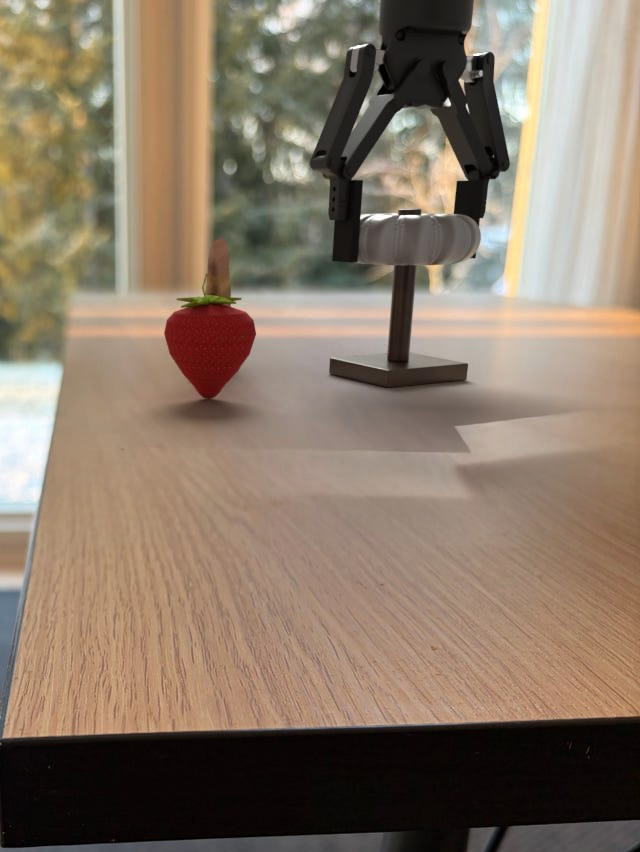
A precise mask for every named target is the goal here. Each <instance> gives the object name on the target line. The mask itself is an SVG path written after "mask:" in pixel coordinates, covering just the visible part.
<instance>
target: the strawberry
mask: <svg viewBox="0 0 640 852" xmlns="http://www.w3.org/2000/svg"><path fill="white" fill-rule="evenodd" d="M207 274H208V273H207V272H206V273H205V275H204V278H203V284H202V286H201V287H202V293H203V296H202V297H201V296H191V297H190V296H189V297H177V298H176V301H179V302H186V303H185V304H182V305H180V308H181V309H178V310H174V311H173V313H172V314H170V315H169V317H168V318H167V319H166V322H165V328H164V332H163V335H164V338H165V342H166V346H167V349H168V353H169V355H170V358H172V360H173V361H174V363H175V364H176V366H177V367H178V369H179V371H180V372H181V373H182V375H183V376H184V377H185V379H187V381H189V383H190V384H191V385H192V386H193V388H194V389H195V390H196V392H197V393H198V394H199V395H200V396H201V397H202V398H204V399H208V400H209V399H214V398H216V397H217V396H218V395H219V394H220V393H221V391H222V390H223V388H224V387H225V386H226V385H227V384H228V383H229V382H230V381H231V379H232V378H233V377H234V376H236V374H237V372H238V371H239V370H240V368H241V367H242V366H243V364H244V363H245V362H246V360H247V359H248V357H249V356H250V354H251V351H252V348H253V345H254V342H255V338H256V336H257V332H256V331H257V330H256V325H255V320H254V319H253V318H252V317H251V316H250V315H249V313H248V312H247V311H245V310H241V309H239V308H236V307H234V306H231V307H230V306H228V305H224V304H231V305H236V304H237V302H238V301H242V300H243V299H242V297H233V296H231V297H219V296H212V295H206V296H205V288H204V287H205V284H206V282H207ZM236 301H237V302H236Z"/></svg>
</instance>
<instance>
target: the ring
mask: <svg viewBox="0 0 640 852" xmlns="http://www.w3.org/2000/svg"><path fill="white" fill-rule="evenodd" d="M481 240H482V234H481V228H480V225H479V226H478V225H477V223H476V222H475V221H474V220H473V219H472V218H470V217H468V216H466V215H460V214H454V213H421V215H398V213H361V217H360V232H359V247H358V262H354V263H355V264H363V265H373V266H375V265H379V266H394V265H417V266H443V265H444V266H447V265H448V266H449V265H455V264H460V263H463V262H466V261H468V260H470V259H472V258H471V257H472V256H473V255H474V254H475V253H476V254H477V251H478V250H479V247H480V245H481ZM354 263H353V264H354Z"/></svg>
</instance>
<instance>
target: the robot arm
mask: <svg viewBox="0 0 640 852" xmlns="http://www.w3.org/2000/svg"><path fill="white" fill-rule="evenodd" d="M379 1H380V2H379V15H378V33H379V35H380V36H381V42H380V46H379V48H376V46H375V45H374V44H373V43H365V44H361V45H356V46H351V47H349V48H348V49H347V51H346V55H345V64H344V72H343V78H342V80H341V82H340V85H339V88H338V90H337V93H336V96H335V98H334V100H333V103H332V105H331V108H330V110H329V113H328V115H327V118H326V120H325V123H324V126H323V128H322V130H321V133H320V136H319V138H318V140H317V142H316V145H315V148H314V150H313V153H312V155H311V158H310V159H309V160H310V161H309V167H310V169H311V170H312V171H314V172H320V173H321V174H322V178H323V179H325V180H329V194H328V212H327V213H328V219H329V221H334V224H333V240H332V255H331V256H332V258H331V259H332V260H331V261H332V262H339V263H353V264H354V262H358V247H359V232H360V217H361V214H362V201H363V185H364V180H363V179H353V178H354V177H355V175H356V174H357V172H358V171H359V170H360V168H361V166H362V165H363V164H364V162H365V161H366V159H367V158H368V156H369V154H370V153H371V151H372V150H373V149H374V147H375V145H376V144H377V142H378V141H379V139H380V137H381V136H382V135H383V133H384V132H385V130H386V129H387V128H388V126H389V124H390V122H391V121H392V120H393V118H394V117H395V115H396V114H398V112H400V111H402V109H411V108H414V109H417V110H430V112H431V114H433V115H434V116H435V117H437V119H438V121H439V123H440V125H441V128H442V131H443V132H444V134H445V136H446V139H447V141H448V142H449V145H450V147H451V148H452V152H453V153H454V155H455V158H456V160H457V162H458V164H459V166H460V168H461V170H462V173H463V175H464V177H465V178H466V180H456V184H455V185H456V186H455V195H454V206H453V214H460V215H466V216H468V217H470V218H472V219H473V220H474V221H475V222H476V223H477V225H478V226H479V227H480V221H481V219H484V217H485V214H486V208H487V201H488V200H487V199H488V193H489V192H488V191H489V183H490V180H492V181H493V180H496V179H498V177H499V176H500V173H505V172H507V171H508V170H509V168H510V166H511V165H510V164H511V162H510V161H511V160H510V156H509V150H508V147H507V142H506V135H505V131H504V127H503V126H504V125H503V122H502V121H503V120H502V116H501V111H500V106H499V101H498V96H497V92H496V87H495V86H496V85H495V82H494V80H495V62H496V61H495V60H496V59H495V58H496V57H495V54H494V53H493V52H492V51H485V52H480V53H473V54H467V53H466V49H465V41H466V37H467V35H468V34H469V32H470V31H471V29H472V24H473V16H474V15H473V13H474V5H475V0H379ZM377 72H378V75H379V77H380V79H381V82H380V84H379V85H378V86H377V88H376V90H375V91H374V93H373V94H372V96H371V97H370V99H369V101H368V107H367V108H366V110H365V111H364V113H363V114H362V116H361V117H360V119H359V120H358V121H357V119H358V117H359V114H360V111H362V110H361V109H362V107H363V104H364V102H365V101H366V98H367V95H368V92H369V90H370V87H371V84H372V82H373V78H374V76H375V74H376V73H377ZM459 80H461V81H463V87H462V85H461V83H460V81H459ZM356 122H357V123H356ZM355 124H356V125H355ZM476 258H477V252H476V253H475V254H474V255H473V256H472V257H471V258H470V259H476Z"/></svg>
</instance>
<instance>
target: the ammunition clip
mask: <svg viewBox="0 0 640 852" xmlns="http://www.w3.org/2000/svg"><path fill="white" fill-rule="evenodd" d="M207 259H208V260H207V272H206V273H208V274H207V277H206V285H205V289H204V292H205V296H206V295H212V296H219V297H232V282H231V277H230V275H231V274H230V273H231V271H230V253H229V247H228V242H227V239H226V237H224V236H223V237H221V238H217V239H215V240H213V241H212V243H211V246H210V249H209V252H208V258H207ZM224 305H228V306H230V307H232V304H224Z"/></svg>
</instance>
